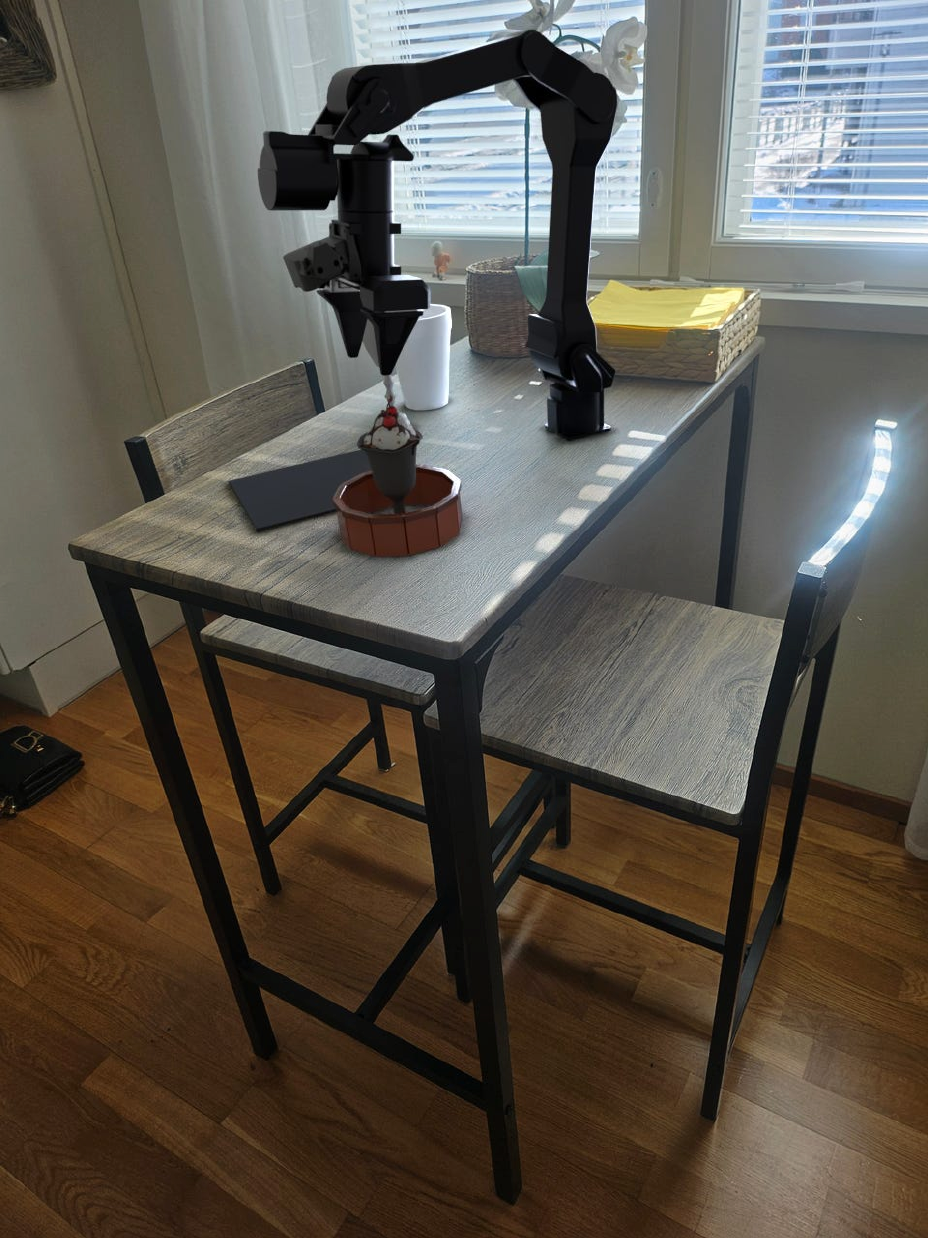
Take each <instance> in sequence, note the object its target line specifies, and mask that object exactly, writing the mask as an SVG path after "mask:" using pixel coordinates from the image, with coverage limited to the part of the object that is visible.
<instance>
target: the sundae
mask: <svg viewBox="0 0 928 1238" xmlns="http://www.w3.org/2000/svg"><path fill="white" fill-rule="evenodd" d="M392 400H393V396H391V395H390V399H389V400H388V401H387V403H386V406H385V410H384V409H381V410H380V412H379V413H378V414H377V416H376V417H374V422H373V425H372V428H371V429H370V430H369V431H367V432H365V433H363V434H361V435H360V437H359V438H358V440H357V443H356V446H357V448H358V449H359V450H361V449H362V450H364V451H365V452H366V454H367V457H368V459H369V462H370V466H371V470H372V473H373V477H374V480H375V483H376V485H377V488H378V491H379V492H380V493H382V494H383V495H384V496H386V497H388V498H390V499H391V500H392V501H393V507H392V508H393V514H400V513H406V512H407V511H406V505H404V498H405V497H406V496H407V495H408V494H409V493H410V492H411V490H412V489H413V488H414V486H415V478H416V465H417V451H418V445H420V443H421V441H422V440H423V439H424V436H423V434H422V432H420V431H419V430H418V429H415V427H413V426H412V424H411V425H408V424H407V421H406V419H405V418H404V416H403V415H402V414H401V413H399V412H398V411H399V409H398V408H397V407H394V406H390V404H389V403H390V402H391V401H392ZM388 405H389V407H388ZM397 409H398V410H397ZM411 426H412V427H411Z"/></svg>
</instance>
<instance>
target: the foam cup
mask: <svg viewBox="0 0 928 1238" xmlns="http://www.w3.org/2000/svg"><path fill="white" fill-rule="evenodd" d="M422 310H424V314H423V316H420V317H419V319H418V320H417V322H416V324H415V326H414V328H413V330H412V332H411V333H410V335H409V337H408V339H407V341H406V343H405V345H404V348H403V350H402V352H401V354H400V356H399V358H398V361H397V363H396V365H395V367H394V368H395V371H396V375H397V378H398V382H399V386H400V390H401V394H402V398H403V402H404V404H405V408H407V409H408V410H413V411H430V410H437V409H439V408H442V407H445V406H446V405H447V404H448V403H449V387H450V383H449V382H450V351H451V330H452V329H453V328H452V327H453V322H452V312H451V307H450V306H448V305H445V304H435V303H430V308H429V309H422Z"/></svg>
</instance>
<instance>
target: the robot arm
mask: <svg viewBox="0 0 928 1238" xmlns="http://www.w3.org/2000/svg"><path fill="white" fill-rule="evenodd" d="M509 81H513V82H514V83H515V85H516V87H517V89H519V91H520V93H521V94H522V96H523V97H524V99H525V101H527V102H528V103H529V104H530V105H531V106H532V107H533V108H535V110H537V111H538V112H539V113H540V127H541V135H542V141H543V144H544V146H545V150H546V152H547V155H548V157H549V160H550V164H551V168H552V169H551V170H552V172H551V174H552V175H551V190H550V191H551V192H550V194H551V195H550V210H549V211H550V212H549V213H550V214H549V231H548V232H549V234H548V251H547V271H546V290H545V292H546V293H545V300H544V302H543V304H542V306H541V308H540V310H539V312H538V313H537V314H532V313H529V314H528V316H527V320H526V324H527V339H526V342H525V345H524V348H526V349H528V351H529V358H530V360H531V362H532V363H533V364H534V365H535V367H537V368H538V369H539V370H540V374H541V376H542V379H543V380H544V381H549V382H551V384H549V396H548V397H547V399H546V412H547V414H546V415H547V417H546V418H547V423H544V428H545V429H546V430H547V431H550V432H551V433H553V434H555V435H556V436H558V437H559V438H562V439H563V440H565V441H567V442H572V441H576V440H580V439H584V438H588V437H592V436H596V435H600V434H604V433H607V432H610V431H611V430H612V426H610V425H608V424H607V423H605V389H608V388H611V387H612V385H613V382H614V378H615V374H616V369H615V367H613V366H612V364H610V363H609V362H608V361H607V360H605V358H604V357H602V356H601V354H599V353H598V342H597V341H598V339H597V327H596V324H595V322H594V319H593V315H592V313H591V310H590V307H589V305H588V287H589V272H590V258H591V246H592V245H591V244H592V231H593V219H594V218H593V217H594V206H595V205H594V204H595V193H596V192H595V189H596V178H597V177H596V176H597V169H598V166H599V163H600V161H601V159H602V157H603V155H604V153H605V152H606V150H607V147H608V146H609V143H610V142H611V139H612V135H613V130H614V125H615V120H616V116H617V110H618V93H617V88H616V87H615V86H614V85H613V83H612V82H611V80H610V79H609V78H608V76H606V75H605V74H603V73H599V72H594V71H593V70H592V69H591V68H590V67H589V66H588V65H586V64H585V63H584V62H582V61H581V60H579V59H577V58H575V56H573V55H571V54H569V53H567V52H566V51H564V50H563V49H562V48H559V47H558V46H556V45H555V44H554V43H553V41H551V40H550V39H549V38H548V37H547V36H546V35H545V34H543V33H542V32H541V31H539V30H537V29H524V30H518V31H517V30H516V31H512V32H509V33H507V34H506V35H504V36H502V37H500V38H496V39H494V40H489V41H487V42H486V41H485V42H482V43H479V44H476V45H472V46H469V47H466V48H462V49H458V50H455V51H451V52H448V53H445V54H442V55H441V54H440V55H438V56H434V57H430V58H427V59H424V60H420V61H416V62H397V63H377V64H366V65H359V66H351V67H344V68H342V69H339V70H338V71H337V72H336V71H335V73H334V74H333V75H332V76H331V80H330V82H329V84H328V87H327V90H326V98H325V99H326V103H325V105H324V107H323V108H322V110H321V112H320V114H319V115H318V117H317V119H316V120H315V122H314V124H313V125H312V127H311V129H310V130H309V132H308V133H307V134H293V133H292V134H291V133H289V132H284V131H278V130H277V131H276V130H264V131H263V133H262V139H263V146H262V148H261V152H260V155H259V156H260V157H259V167H257V181H258V188H259V193H260V197H261V201H262V203H263V205H264V207H265V209H266V210H268V211H326V210H327V209H328V207H329V206H330V203H331V202H335V201H336V202H337V219H331V222H329V224H328V236H326V237H324V238H321V239H318V240H316V241H313V242H311V243H308V244H306V245H304V246H301V247H299V248H296V249H295V250H292V251H289V252H288V253H286V254H285V255H283V257H282V259H283V261H284V263H285V267H286V268H287V272H288V274H289V276H290V279H291V281H292V284H293V287H294V288H296V289H298V288H300V289H301V290H302V292H304V293H307V292H313V291H316V293H317V295H318V296H320V297H321V298H322V299H323V300H325V301H326V303H328V304H329V305H330V306H331V308H332V309H333V312H334V315H335V318H336V321H337V325H338V327H339V331H340V334H341V339H342V342H343V345H344V348H345V352H346V355H347V357H348V358H349V359H353V358H354V359H355V358H358V357H359V354H360V351H361V348H362V344H363V342H362V341H363V336H364V332H365V328H366V324H367V320H369V321H370V322H371V323H372V324H373V326H374V333H375V341H376V348H377V356H378V363H379V367H378V368H379V373H380V375H381V376H383V377H384V376H387V375H392V374H393V372H394V369H395V368H396V367H395V365H396V363H397V361H398V358H399V356H400V354H401V352H402V350H403V348H404V345H405V343H406V341H407V339H408V337H409V335H410V333H411V332H412V330H413V328H414V326H415V324H416V322H417V320H418V319H419V317H420V316H423V314H424V310H422V309H429V308H430V304H431V291H432V290H431V289H432V288H431V287H430V286H429V285H428V283H427V282H426V281H425V280H424V279H423V278H420V277H416V276H413V275H410V274H402V266H401V265H399V264H395V235H402V222H397V221H395V212H394V211H395V191H394V189H395V174H394V173H395V172H394V171H395V164H394V163H395V162H413V161H414V160H415V155H414V153H413V152H412V151H411V150H410V149H409V148H408V147H407V146H406V145H405V144H404V143H403V141H402V140H401V137H400V136H399V135H398V134H391V133H389V132H391V131H393V130H394V129H396V128H398V127H399V126H401V125H403V124H405V123H406V122H409V121H411V120H412V119H413V118H414V117H416V116H417V115H419V113H421V112H422V111H424V110H425V109H427V108H429V107H430V106H432V105H434V104H437V103H440V102H443V101H446V100H450V99H453V98H456V97H460V96H463V95H466V94H470V93H473V92H476V91H479V90H483V89H486V88H489V87H492V86H496V85H499V84H503V83H505V82H509ZM387 133H389V134H387ZM385 134H387V135H386V136H385V137H384V139H383V140H382V141H363V140H364V139H365V138H366V137H368V136H369V135H370V136H371V135H374V136H377V135H385ZM335 146H352V148H351V150H350V153H347V152H346V153H345V152H343V153H342V152H335V149H334V147H335Z"/></svg>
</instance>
